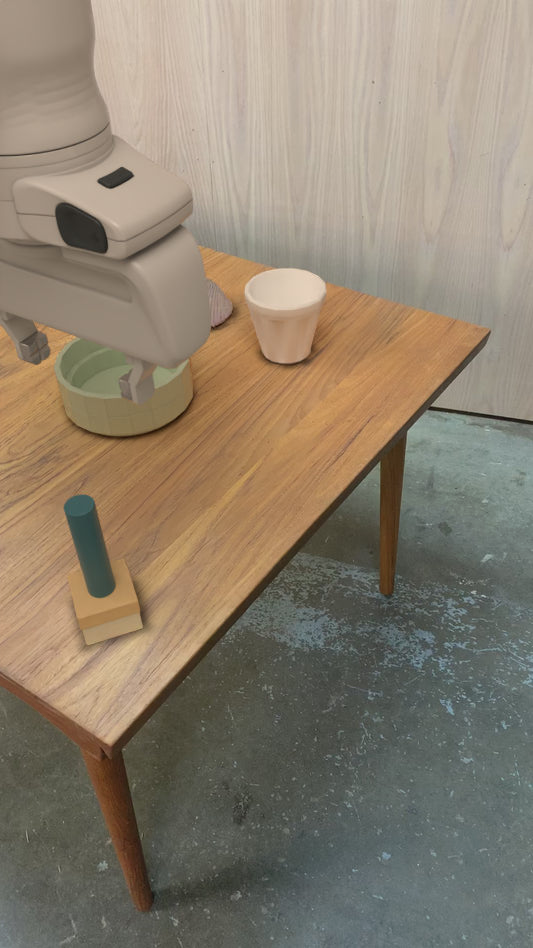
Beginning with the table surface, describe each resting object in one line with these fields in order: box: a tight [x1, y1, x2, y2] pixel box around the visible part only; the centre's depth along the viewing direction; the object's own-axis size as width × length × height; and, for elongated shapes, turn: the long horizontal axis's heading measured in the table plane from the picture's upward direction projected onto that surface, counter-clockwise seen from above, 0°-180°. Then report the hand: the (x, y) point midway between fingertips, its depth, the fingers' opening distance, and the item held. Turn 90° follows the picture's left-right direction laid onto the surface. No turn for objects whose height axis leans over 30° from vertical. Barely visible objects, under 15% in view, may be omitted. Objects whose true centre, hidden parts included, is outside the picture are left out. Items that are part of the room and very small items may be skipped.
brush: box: [63, 494, 144, 647], centre depth 65 cm, size 5×5×14 cm
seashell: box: [206, 277, 233, 328], centre depth 107 cm, size 10×6×10 cm
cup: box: [243, 267, 327, 366], centre depth 97 cm, size 10×10×9 cm
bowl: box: [53, 336, 194, 437], centre depth 92 cm, size 15×15×6 cm
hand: (85, 377), depth 54 cm, fingers open, 8 cm apart
